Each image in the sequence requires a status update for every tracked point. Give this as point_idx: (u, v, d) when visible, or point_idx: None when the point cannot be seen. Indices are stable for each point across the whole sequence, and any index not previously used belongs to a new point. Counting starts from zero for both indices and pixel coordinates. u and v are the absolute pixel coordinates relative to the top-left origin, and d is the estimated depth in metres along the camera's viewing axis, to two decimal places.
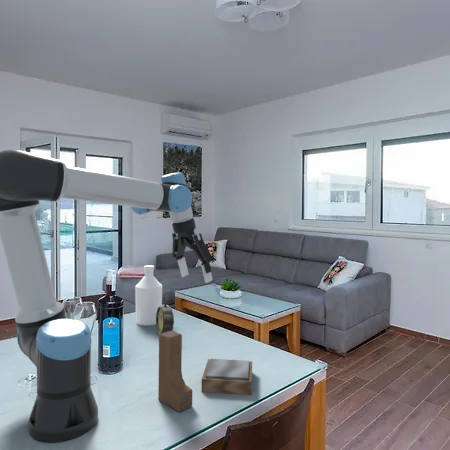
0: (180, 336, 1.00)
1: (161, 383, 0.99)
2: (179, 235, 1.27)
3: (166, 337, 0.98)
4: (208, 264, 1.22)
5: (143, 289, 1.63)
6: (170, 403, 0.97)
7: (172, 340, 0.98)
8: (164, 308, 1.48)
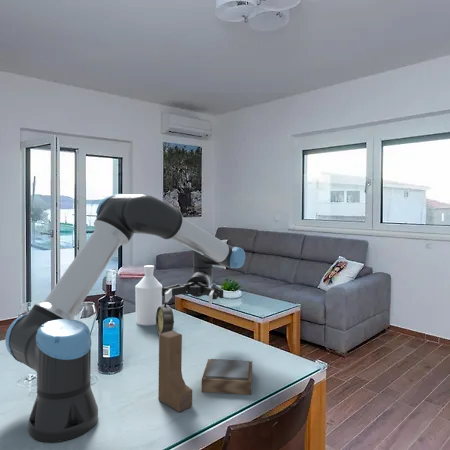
0: (180, 336, 1.00)
1: (161, 383, 0.99)
2: None
3: (166, 337, 0.98)
4: (217, 295, 1.20)
5: (143, 290, 1.63)
6: (170, 403, 0.97)
7: (172, 340, 0.98)
8: (164, 308, 1.48)
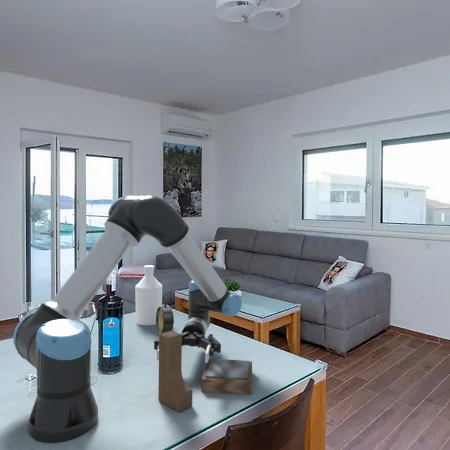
0: (180, 336, 1.00)
1: (161, 383, 0.99)
2: None
3: (166, 337, 0.98)
4: (214, 350, 1.11)
5: (143, 290, 1.63)
6: (170, 403, 0.97)
7: (172, 340, 0.98)
8: (164, 308, 1.48)
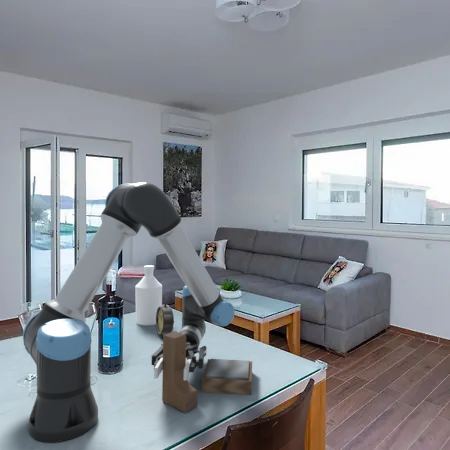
0: (184, 336, 0.99)
1: (165, 384, 0.99)
2: None
3: (171, 337, 0.97)
4: (195, 366, 0.99)
5: (143, 290, 1.63)
6: (176, 404, 0.96)
7: (177, 341, 0.97)
8: (164, 308, 1.48)
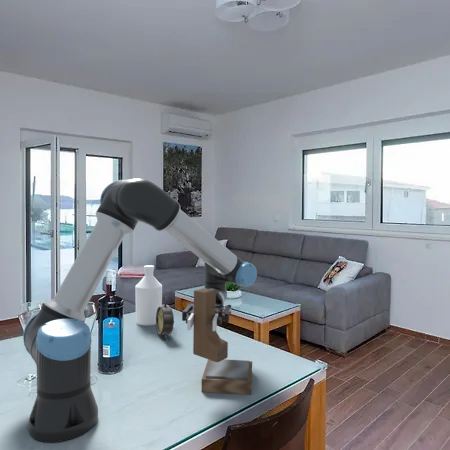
0: (214, 292, 1.04)
1: (196, 337, 1.03)
2: None
3: (202, 292, 1.02)
4: (222, 320, 1.04)
5: (143, 290, 1.63)
6: (207, 355, 1.01)
7: (208, 295, 1.02)
8: (164, 308, 1.48)
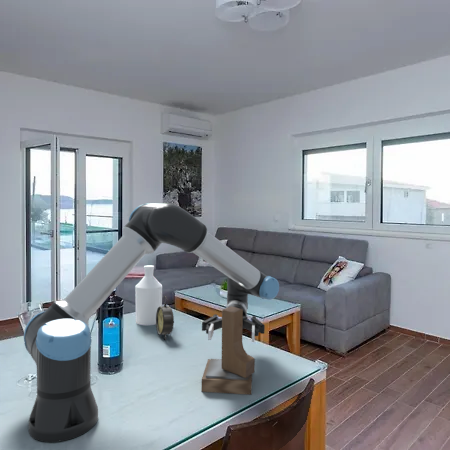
0: (241, 311, 1.09)
1: (225, 353, 1.09)
2: None
3: (230, 312, 1.07)
4: (258, 331, 1.11)
5: (143, 289, 1.63)
6: (236, 371, 1.07)
7: (236, 315, 1.07)
8: (164, 308, 1.48)
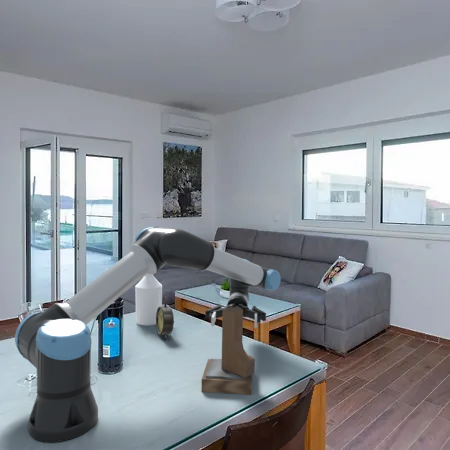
0: (242, 311, 1.10)
1: (225, 354, 1.09)
2: None
3: (231, 311, 1.08)
4: (260, 318, 1.23)
5: (143, 290, 1.63)
6: (236, 371, 1.07)
7: (236, 314, 1.08)
8: (164, 308, 1.48)
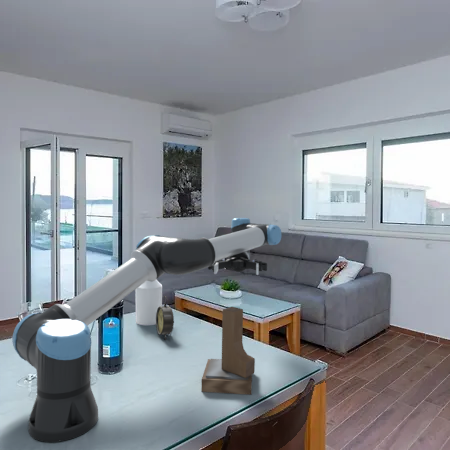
0: (242, 311, 1.10)
1: (225, 354, 1.09)
2: None
3: (231, 311, 1.08)
4: (261, 268, 1.27)
5: (143, 289, 1.63)
6: (236, 371, 1.07)
7: (236, 314, 1.08)
8: (164, 308, 1.48)
